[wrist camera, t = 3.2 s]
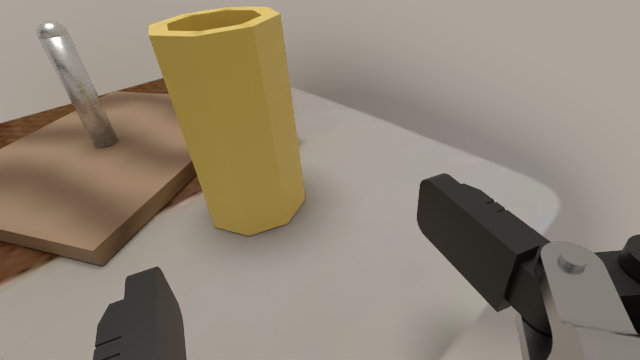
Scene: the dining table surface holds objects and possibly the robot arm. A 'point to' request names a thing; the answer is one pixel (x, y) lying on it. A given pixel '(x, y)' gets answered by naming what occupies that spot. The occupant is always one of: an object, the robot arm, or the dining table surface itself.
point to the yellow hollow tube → (235, 112)
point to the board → (93, 179)
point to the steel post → (76, 83)
